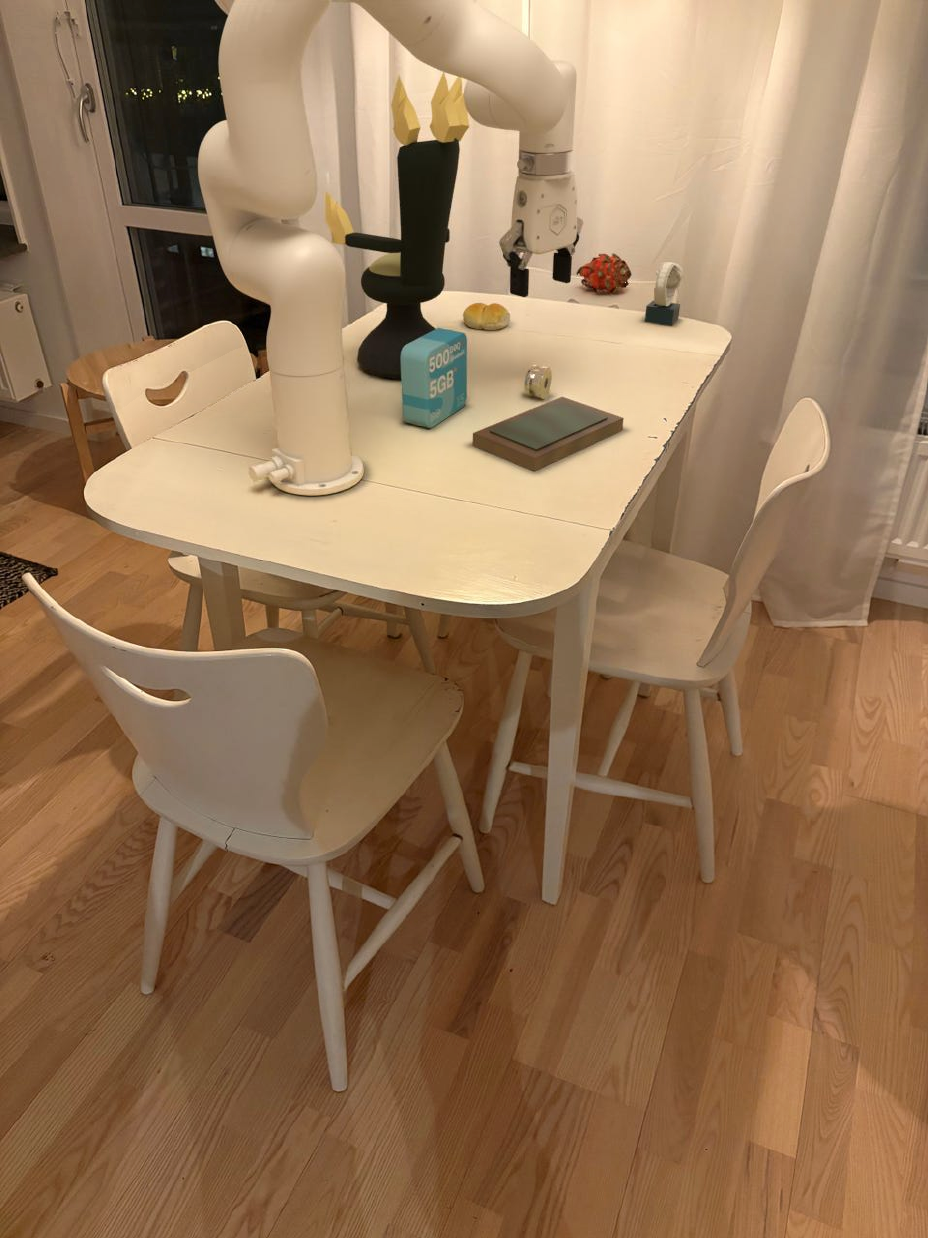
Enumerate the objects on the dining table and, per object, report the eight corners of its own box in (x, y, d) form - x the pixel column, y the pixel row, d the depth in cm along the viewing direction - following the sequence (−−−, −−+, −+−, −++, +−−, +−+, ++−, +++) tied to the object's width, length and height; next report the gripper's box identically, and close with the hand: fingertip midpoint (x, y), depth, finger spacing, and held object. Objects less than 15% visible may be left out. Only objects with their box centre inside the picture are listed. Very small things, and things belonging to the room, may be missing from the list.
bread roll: (470, 315, 184) (471, 295, 182) (513, 320, 182) (514, 300, 179) (456, 327, 178) (456, 306, 175) (500, 333, 175) (500, 312, 173)
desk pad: (534, 471, 126) (535, 456, 125) (472, 445, 133) (472, 431, 132) (622, 430, 138) (624, 416, 137) (561, 408, 145) (562, 394, 144)
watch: (680, 317, 184) (688, 259, 177) (669, 328, 178) (676, 269, 172) (653, 313, 186) (660, 256, 180) (641, 324, 180) (647, 265, 174)
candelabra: (417, 340, 172) (410, 59, 146) (498, 372, 158) (506, 68, 132) (333, 362, 161) (310, 65, 136) (412, 399, 148) (402, 75, 122)
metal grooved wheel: (539, 403, 147) (541, 372, 144) (522, 400, 148) (523, 369, 145) (550, 392, 150) (552, 362, 147) (534, 389, 151) (535, 360, 148)
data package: (427, 431, 137) (425, 352, 130) (402, 425, 139) (399, 347, 132) (467, 405, 146) (467, 329, 139) (443, 399, 148) (442, 324, 141)
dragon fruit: (632, 303, 197) (578, 305, 201) (638, 271, 199) (585, 273, 204) (624, 275, 189) (569, 278, 194) (632, 242, 192) (576, 246, 197)
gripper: (523, 175, 122) (520, 306, 132) (604, 158, 132) (595, 281, 142) (483, 168, 126) (483, 295, 136) (564, 152, 136) (558, 271, 146)
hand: (540, 288), depth 139 cm, fingers open, 9 cm apart
